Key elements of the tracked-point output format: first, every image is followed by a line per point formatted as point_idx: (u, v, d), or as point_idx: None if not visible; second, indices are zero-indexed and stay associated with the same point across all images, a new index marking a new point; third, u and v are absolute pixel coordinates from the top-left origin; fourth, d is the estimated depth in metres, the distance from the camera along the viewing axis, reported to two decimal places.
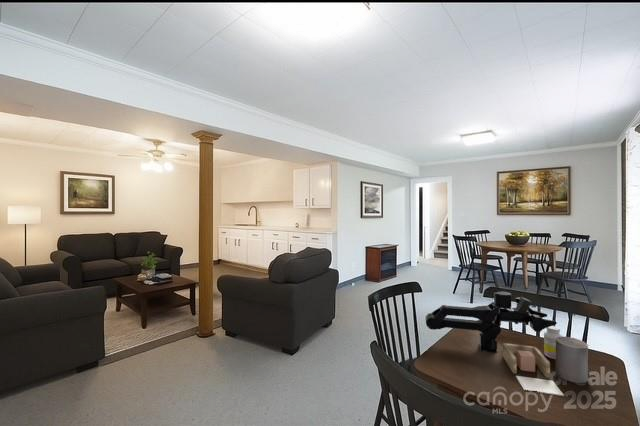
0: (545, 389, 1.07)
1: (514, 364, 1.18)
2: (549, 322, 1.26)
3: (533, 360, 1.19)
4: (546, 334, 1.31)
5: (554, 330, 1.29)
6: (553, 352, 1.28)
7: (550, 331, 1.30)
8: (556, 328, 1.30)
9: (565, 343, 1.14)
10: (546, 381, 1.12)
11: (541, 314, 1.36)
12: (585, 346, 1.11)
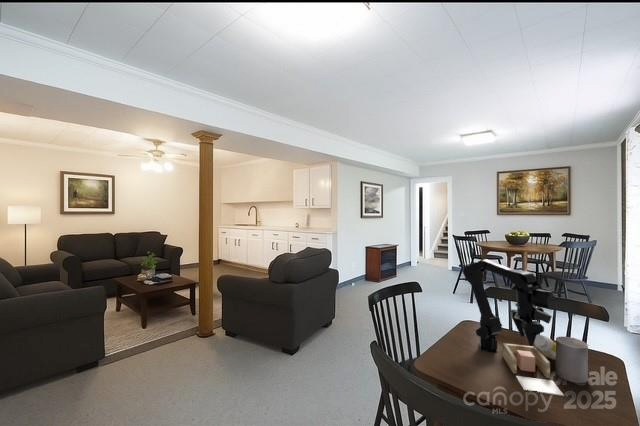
0: (545, 389, 1.07)
1: (514, 364, 1.18)
2: (532, 339, 1.16)
3: (533, 360, 1.19)
4: (536, 346, 1.27)
5: (541, 346, 1.24)
6: (550, 356, 1.27)
7: (538, 345, 1.25)
8: (542, 341, 1.24)
9: (565, 343, 1.14)
10: (546, 381, 1.12)
11: (522, 331, 1.26)
12: (585, 346, 1.11)
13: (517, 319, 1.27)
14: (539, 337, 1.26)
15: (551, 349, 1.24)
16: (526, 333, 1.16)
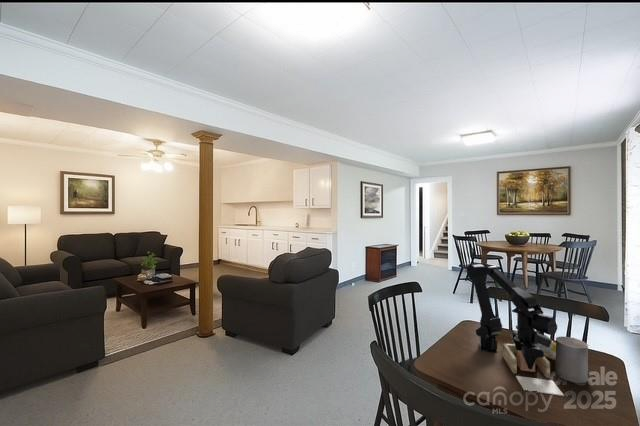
0: (545, 389, 1.07)
1: (514, 364, 1.18)
2: (531, 363, 1.17)
3: None
4: None
5: (541, 346, 1.24)
6: (550, 356, 1.27)
7: (538, 345, 1.25)
8: None
9: (565, 343, 1.14)
10: (546, 381, 1.12)
11: None
12: (585, 346, 1.11)
13: (517, 341, 1.27)
14: None
15: (551, 350, 1.24)
16: (525, 357, 1.17)
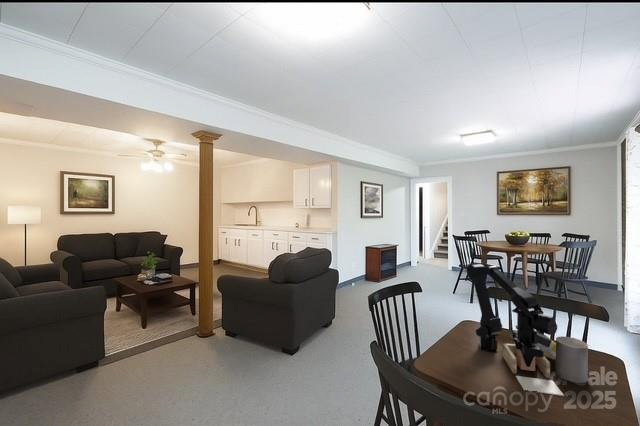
0: (545, 389, 1.07)
1: (514, 364, 1.18)
2: (529, 360, 1.18)
3: (533, 359, 1.19)
4: None
5: (541, 346, 1.24)
6: (550, 356, 1.27)
7: (538, 346, 1.25)
8: None
9: (565, 343, 1.14)
10: (546, 381, 1.12)
11: None
12: (585, 346, 1.11)
13: (518, 342, 1.25)
14: None
15: (552, 350, 1.24)
16: (524, 355, 1.18)
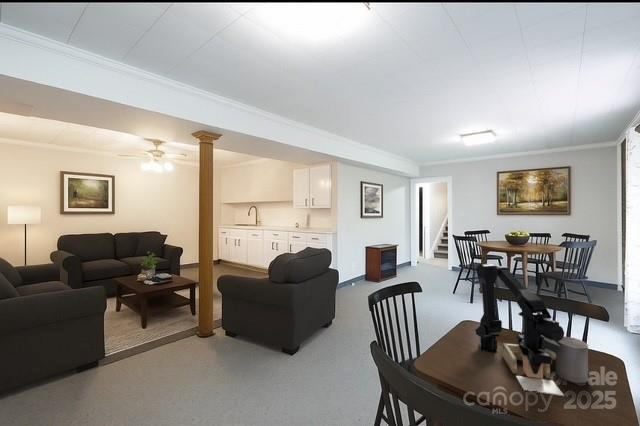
0: (545, 389, 1.07)
1: (514, 364, 1.18)
2: (537, 367, 1.12)
3: (541, 366, 1.12)
4: None
5: None
6: (550, 356, 1.27)
7: None
8: None
9: (565, 343, 1.14)
10: (546, 381, 1.12)
11: None
12: (585, 346, 1.11)
13: (525, 348, 1.19)
14: None
15: None
16: (531, 361, 1.12)
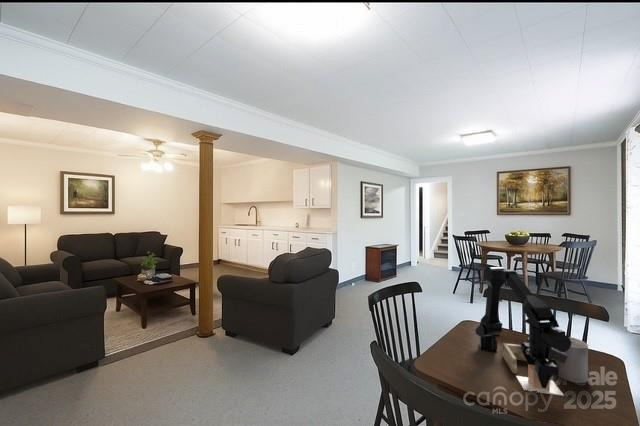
0: (545, 389, 1.07)
1: (514, 364, 1.18)
2: (546, 381, 1.04)
3: None
4: None
5: None
6: None
7: None
8: None
9: None
10: None
11: None
12: (585, 346, 1.11)
13: (528, 354, 1.15)
14: None
15: None
16: (539, 374, 1.04)
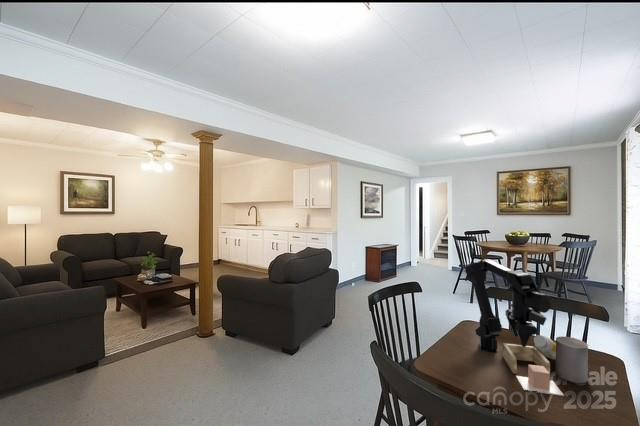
0: (545, 389, 1.07)
1: (514, 364, 1.18)
2: (525, 340, 1.16)
3: (547, 376, 1.07)
4: (536, 346, 1.27)
5: (541, 346, 1.24)
6: (550, 356, 1.27)
7: None
8: (543, 342, 1.24)
9: (565, 343, 1.14)
10: None
11: (516, 331, 1.26)
12: (585, 346, 1.11)
13: (512, 319, 1.27)
14: (540, 338, 1.25)
15: (552, 350, 1.24)
16: (519, 334, 1.16)
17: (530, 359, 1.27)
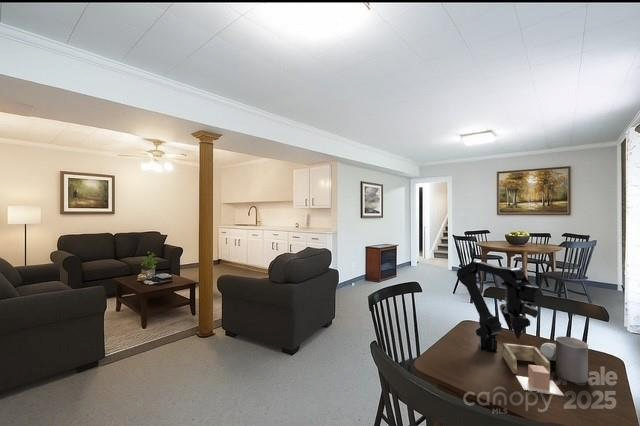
0: (545, 389, 1.07)
1: (514, 364, 1.18)
2: (519, 332, 1.21)
3: (547, 376, 1.07)
4: None
5: (546, 356, 1.21)
6: None
7: None
8: (549, 354, 1.20)
9: (565, 343, 1.14)
10: None
11: (511, 324, 1.31)
12: (585, 346, 1.11)
13: (506, 313, 1.32)
14: (548, 349, 1.21)
15: (555, 360, 1.22)
16: (513, 327, 1.21)
17: (530, 359, 1.27)
